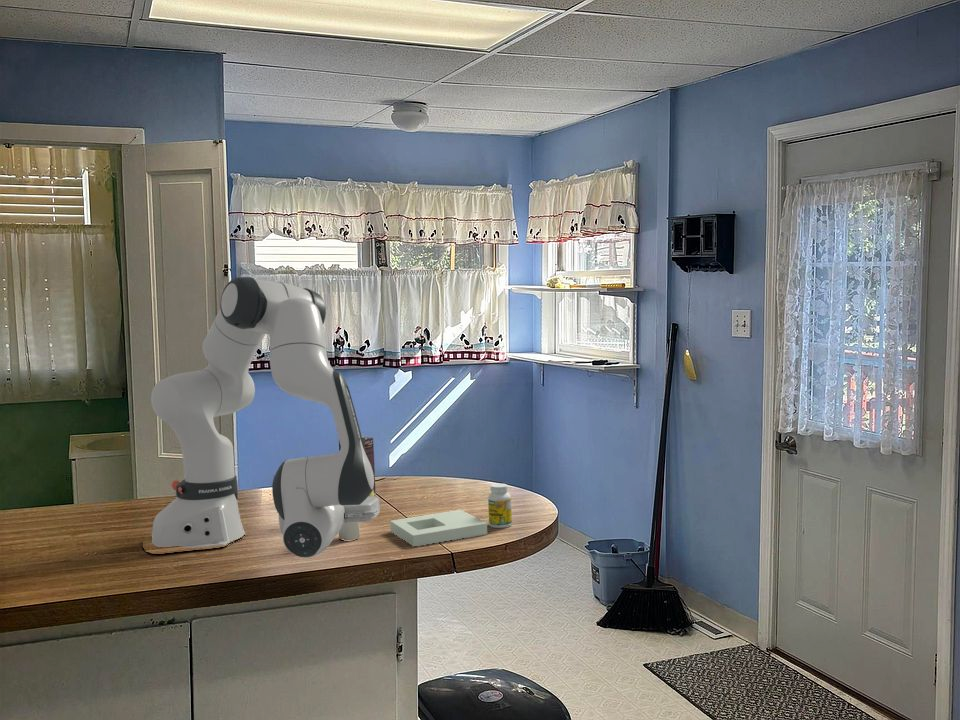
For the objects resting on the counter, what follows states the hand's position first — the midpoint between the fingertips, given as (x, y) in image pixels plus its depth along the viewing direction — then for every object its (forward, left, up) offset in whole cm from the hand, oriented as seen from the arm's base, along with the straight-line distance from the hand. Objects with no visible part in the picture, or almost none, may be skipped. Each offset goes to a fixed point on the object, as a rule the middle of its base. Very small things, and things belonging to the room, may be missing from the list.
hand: (336, 500), depth 196 cm
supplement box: (+21, +48, -12) cm, 54 cm away
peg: (+6, +11, -12) cm, 17 cm away
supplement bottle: (+40, +2, -12) cm, 42 cm away
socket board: (+25, +4, -12) cm, 28 cm away
